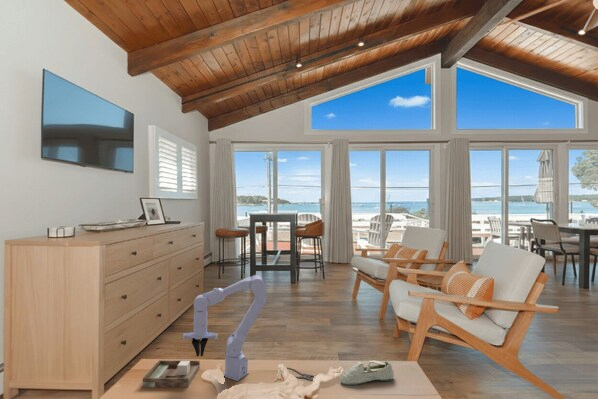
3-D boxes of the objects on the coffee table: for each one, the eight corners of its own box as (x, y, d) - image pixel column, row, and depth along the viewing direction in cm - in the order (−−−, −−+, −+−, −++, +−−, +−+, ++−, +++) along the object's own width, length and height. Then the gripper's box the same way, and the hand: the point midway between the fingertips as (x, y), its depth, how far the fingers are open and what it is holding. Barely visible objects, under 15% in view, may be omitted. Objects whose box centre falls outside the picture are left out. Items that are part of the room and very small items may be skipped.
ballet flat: (336, 377, 144) (336, 359, 144) (387, 371, 149) (387, 354, 149) (343, 388, 135) (343, 368, 135) (397, 381, 140) (397, 363, 140)
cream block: (189, 370, 144) (189, 361, 144) (186, 374, 140) (186, 365, 140) (180, 370, 144) (180, 361, 144) (177, 374, 140) (177, 365, 140)
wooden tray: (199, 368, 150) (199, 360, 150) (188, 387, 134) (188, 378, 134) (158, 368, 150) (159, 360, 150) (142, 387, 134) (142, 378, 134)
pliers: (279, 366, 152) (322, 369, 149) (279, 368, 152) (322, 371, 149) (274, 377, 142) (320, 380, 139) (274, 379, 142) (320, 382, 139)
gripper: (180, 327, 139) (180, 359, 138) (214, 327, 139) (214, 359, 138) (186, 321, 146) (185, 352, 145) (218, 321, 146) (218, 352, 145)
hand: (200, 355), depth 142 cm, fingers closed
